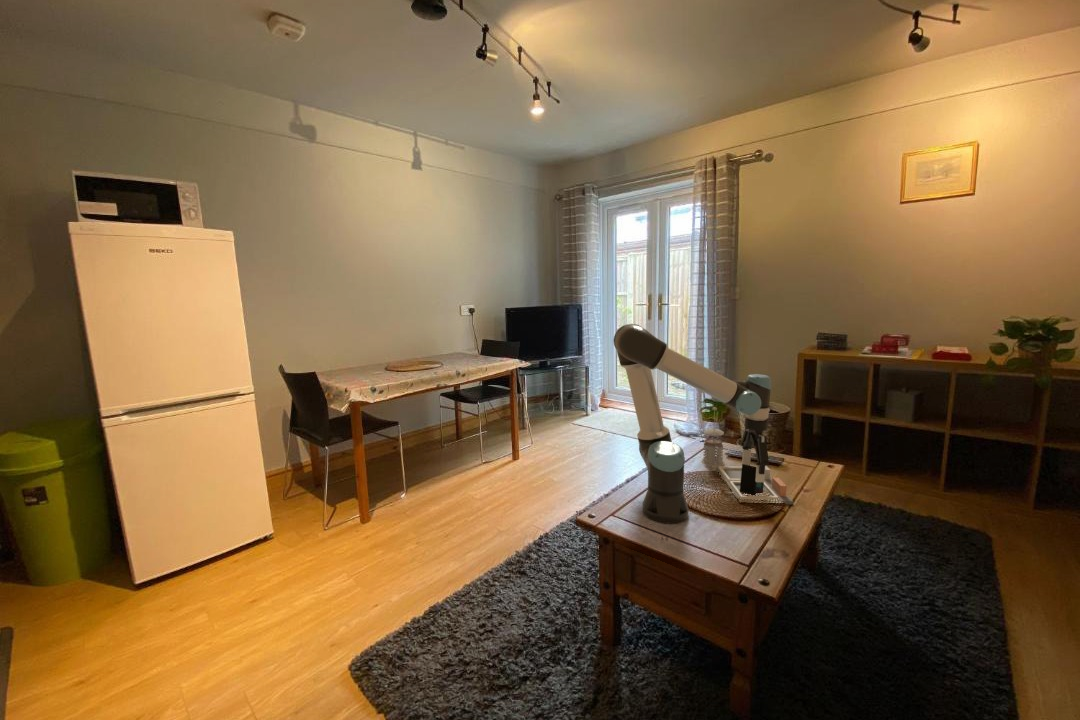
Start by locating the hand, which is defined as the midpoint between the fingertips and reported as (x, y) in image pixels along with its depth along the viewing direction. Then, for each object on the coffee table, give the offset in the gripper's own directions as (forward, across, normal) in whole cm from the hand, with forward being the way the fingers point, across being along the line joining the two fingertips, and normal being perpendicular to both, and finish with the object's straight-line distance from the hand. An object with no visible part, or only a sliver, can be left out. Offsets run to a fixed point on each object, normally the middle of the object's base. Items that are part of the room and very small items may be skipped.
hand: (752, 473), depth 158 cm
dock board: (+8, +7, -2) cm, 11 cm away
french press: (+8, +29, +6) cm, 31 cm away
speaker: (+7, 0, 0) cm, 7 cm away
